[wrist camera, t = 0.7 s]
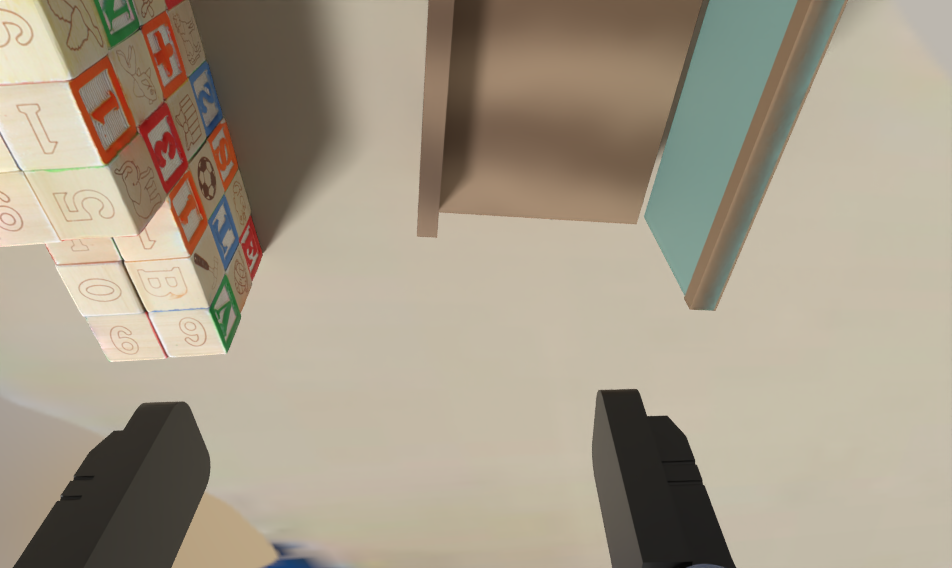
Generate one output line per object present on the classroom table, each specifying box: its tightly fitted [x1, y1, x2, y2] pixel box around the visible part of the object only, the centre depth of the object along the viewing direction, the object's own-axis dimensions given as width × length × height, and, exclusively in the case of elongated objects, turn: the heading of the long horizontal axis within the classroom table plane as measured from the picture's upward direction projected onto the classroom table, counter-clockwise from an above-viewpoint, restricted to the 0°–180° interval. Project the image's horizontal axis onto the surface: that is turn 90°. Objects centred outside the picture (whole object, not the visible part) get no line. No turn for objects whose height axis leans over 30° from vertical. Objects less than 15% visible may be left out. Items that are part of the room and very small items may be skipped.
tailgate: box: [644, 0, 848, 311], centre depth 25 cm, size 21×1×8 cm, turn 174°
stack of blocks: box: [0, 0, 263, 362], centre depth 28 cm, size 21×6×12 cm, turn 2°
